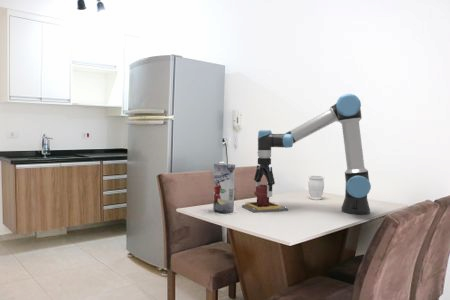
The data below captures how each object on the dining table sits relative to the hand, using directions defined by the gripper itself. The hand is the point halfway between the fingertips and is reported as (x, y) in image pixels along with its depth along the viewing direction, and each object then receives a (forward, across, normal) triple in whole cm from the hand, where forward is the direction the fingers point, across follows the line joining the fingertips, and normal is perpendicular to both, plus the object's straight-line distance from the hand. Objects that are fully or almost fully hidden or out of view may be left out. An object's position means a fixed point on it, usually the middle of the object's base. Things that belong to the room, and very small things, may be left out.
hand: (263, 195), depth 210 cm
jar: (+8, -22, +51) cm, 56 cm away
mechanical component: (+7, -1, 0) cm, 7 cm away
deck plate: (+8, 0, +1) cm, 8 cm away
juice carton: (+8, +1, -25) cm, 26 cm away
